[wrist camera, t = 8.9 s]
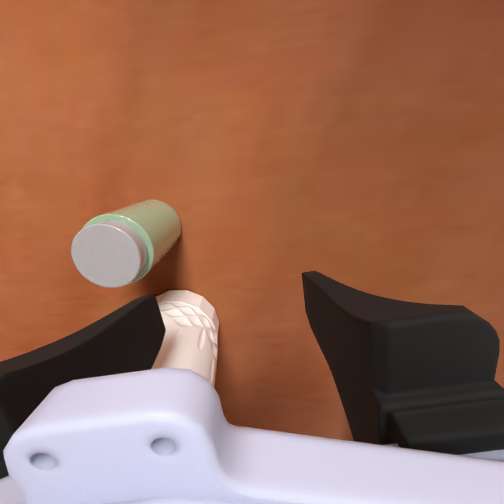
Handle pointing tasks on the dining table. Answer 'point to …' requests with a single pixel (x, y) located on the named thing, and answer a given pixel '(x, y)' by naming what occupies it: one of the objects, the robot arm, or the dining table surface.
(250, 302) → the dining table surface
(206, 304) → the white cup
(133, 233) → the salt shaker
